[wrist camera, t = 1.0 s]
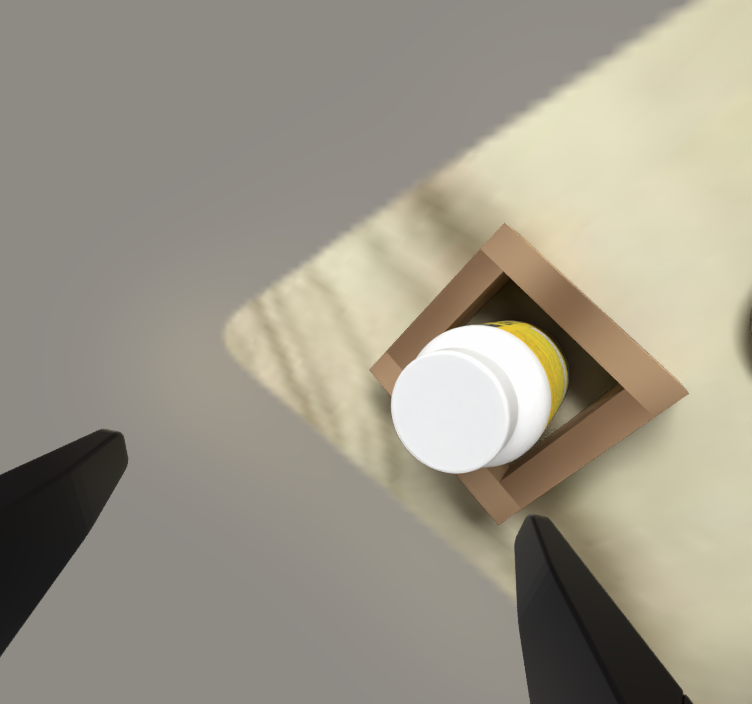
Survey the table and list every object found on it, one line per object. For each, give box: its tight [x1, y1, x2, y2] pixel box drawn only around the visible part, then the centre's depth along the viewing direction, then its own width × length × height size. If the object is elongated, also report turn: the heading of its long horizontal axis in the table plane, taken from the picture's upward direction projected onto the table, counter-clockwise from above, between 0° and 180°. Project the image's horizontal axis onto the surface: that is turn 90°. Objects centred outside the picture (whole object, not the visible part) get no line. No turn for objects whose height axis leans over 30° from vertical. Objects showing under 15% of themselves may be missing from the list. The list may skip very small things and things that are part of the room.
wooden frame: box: [370, 223, 689, 525], centre depth 21 cm, size 10×10×2 cm
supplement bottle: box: [391, 321, 569, 474], centre depth 18 cm, size 5×5×10 cm
